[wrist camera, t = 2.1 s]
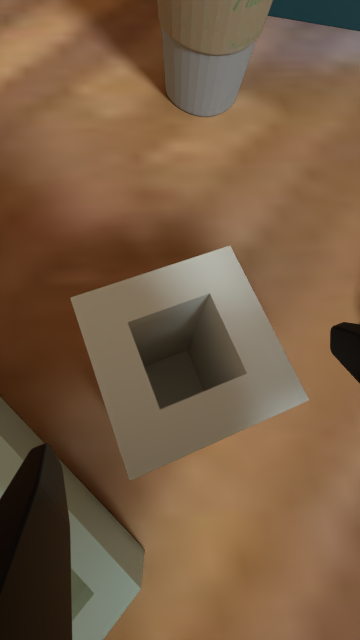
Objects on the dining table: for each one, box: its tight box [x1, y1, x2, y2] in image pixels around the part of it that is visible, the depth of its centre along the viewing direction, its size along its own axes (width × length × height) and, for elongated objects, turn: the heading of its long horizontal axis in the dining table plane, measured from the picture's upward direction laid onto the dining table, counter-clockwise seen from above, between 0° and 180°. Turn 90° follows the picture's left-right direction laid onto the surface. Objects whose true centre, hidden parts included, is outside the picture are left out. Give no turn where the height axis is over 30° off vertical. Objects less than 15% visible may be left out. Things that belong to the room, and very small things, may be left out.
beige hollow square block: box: [70, 246, 309, 481], centre depth 14 cm, size 6×6×9 cm
